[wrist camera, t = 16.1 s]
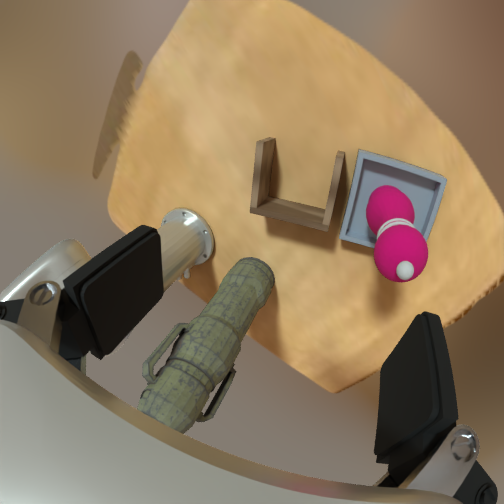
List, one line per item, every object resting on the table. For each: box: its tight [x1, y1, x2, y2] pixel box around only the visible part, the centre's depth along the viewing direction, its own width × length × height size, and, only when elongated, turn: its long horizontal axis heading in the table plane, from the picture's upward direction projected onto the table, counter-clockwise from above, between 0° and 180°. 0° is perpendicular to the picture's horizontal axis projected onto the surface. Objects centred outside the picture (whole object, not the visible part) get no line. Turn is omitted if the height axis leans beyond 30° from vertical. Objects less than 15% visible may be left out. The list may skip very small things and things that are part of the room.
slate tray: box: [339, 149, 447, 248], centre depth 37 cm, size 14×14×3 cm
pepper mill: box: [366, 185, 428, 282], centre depth 30 cm, size 7×7×20 cm
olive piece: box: [137, 257, 275, 434], centre depth 41 cm, size 9×12×35 cm
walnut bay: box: [250, 137, 345, 232], centre depth 40 cm, size 11×12×6 cm
